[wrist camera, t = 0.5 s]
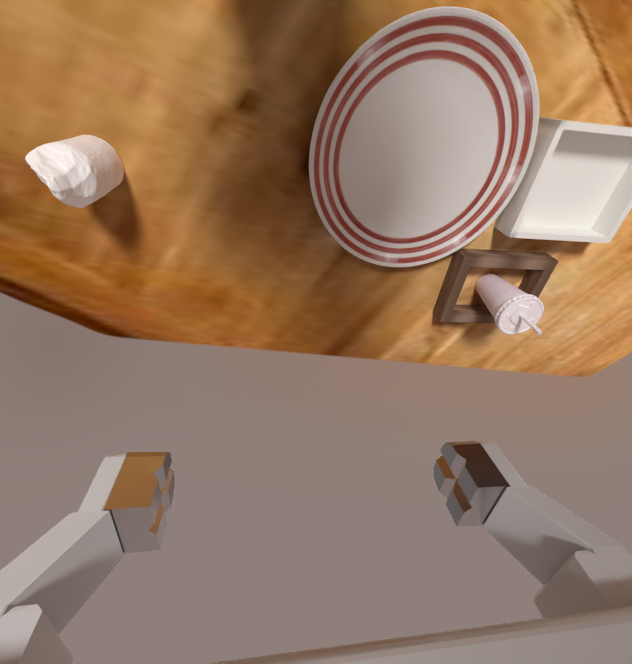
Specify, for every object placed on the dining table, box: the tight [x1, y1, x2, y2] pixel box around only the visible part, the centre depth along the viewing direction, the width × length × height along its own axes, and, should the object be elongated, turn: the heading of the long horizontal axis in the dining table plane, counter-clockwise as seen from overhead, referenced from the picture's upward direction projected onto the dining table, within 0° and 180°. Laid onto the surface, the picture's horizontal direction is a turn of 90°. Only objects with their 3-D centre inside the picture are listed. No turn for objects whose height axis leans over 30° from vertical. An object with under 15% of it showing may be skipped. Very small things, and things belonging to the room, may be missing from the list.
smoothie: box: [475, 273, 544, 335], centre depth 49 cm, size 6×6×14 cm
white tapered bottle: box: [25, 135, 124, 208], centre depth 35 cm, size 6×12×6 cm
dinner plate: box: [309, 6, 539, 267], centre depth 41 cm, size 27×27×3 cm
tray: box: [494, 117, 632, 243], centre depth 44 cm, size 16×14×4 cm
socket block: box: [433, 249, 558, 323], centre depth 54 cm, size 15×11×3 cm
